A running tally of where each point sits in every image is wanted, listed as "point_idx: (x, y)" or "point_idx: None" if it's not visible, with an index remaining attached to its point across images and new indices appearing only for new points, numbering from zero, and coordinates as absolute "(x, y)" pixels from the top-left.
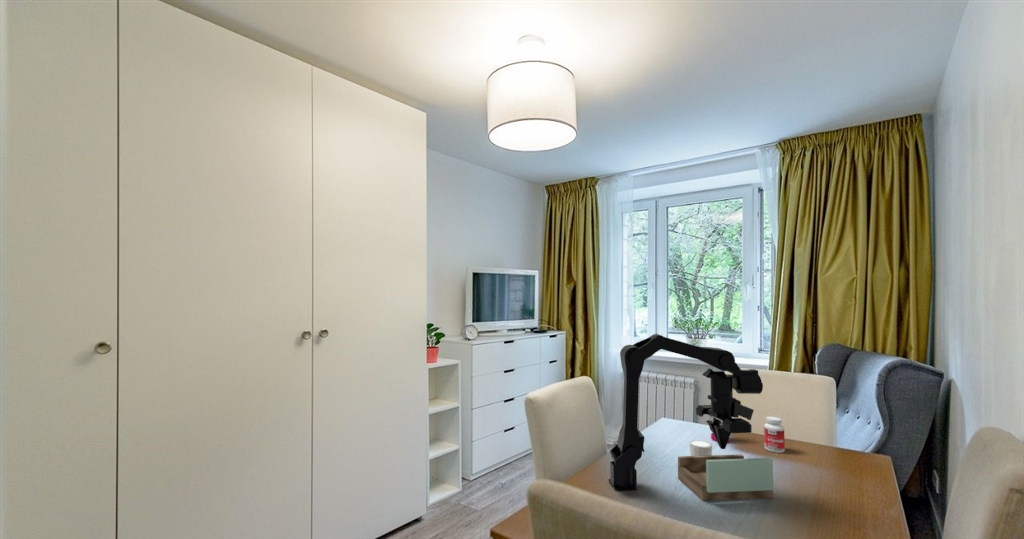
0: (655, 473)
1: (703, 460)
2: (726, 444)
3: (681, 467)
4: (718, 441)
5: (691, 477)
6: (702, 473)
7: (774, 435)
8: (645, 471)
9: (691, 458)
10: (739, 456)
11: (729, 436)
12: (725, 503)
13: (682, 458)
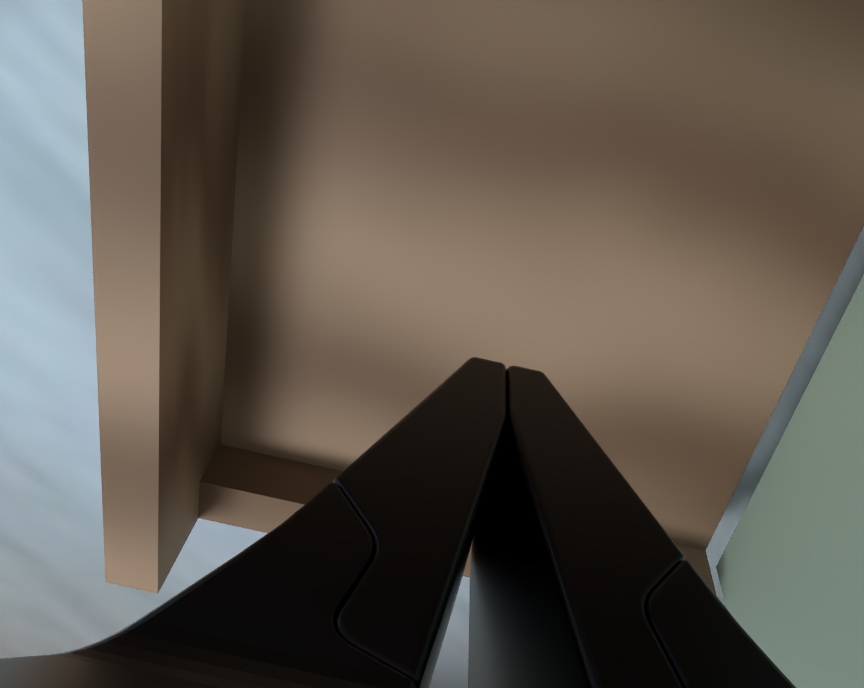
0: (70, 510)
1: (178, 286)
2: (593, 443)
3: (223, 517)
4: (469, 615)
5: (469, 568)
6: (302, 295)
7: None
8: (25, 552)
9: (161, 460)
10: None
11: (734, 623)
12: (809, 379)
13: (161, 561)
